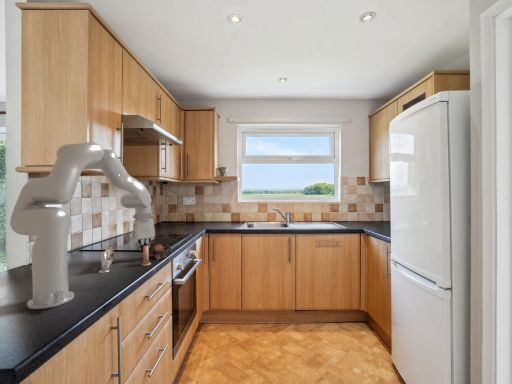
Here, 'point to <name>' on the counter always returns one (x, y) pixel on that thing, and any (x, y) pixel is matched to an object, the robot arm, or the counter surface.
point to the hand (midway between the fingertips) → (144, 251)
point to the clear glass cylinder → (104, 262)
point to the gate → (110, 256)
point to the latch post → (145, 256)
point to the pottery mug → (159, 251)
